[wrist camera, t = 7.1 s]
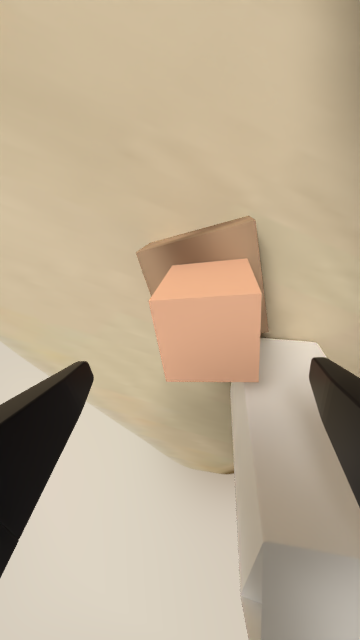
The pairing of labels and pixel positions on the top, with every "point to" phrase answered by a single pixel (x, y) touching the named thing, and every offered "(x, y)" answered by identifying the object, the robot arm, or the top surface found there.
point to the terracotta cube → (209, 322)
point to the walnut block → (205, 253)
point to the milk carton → (292, 506)
